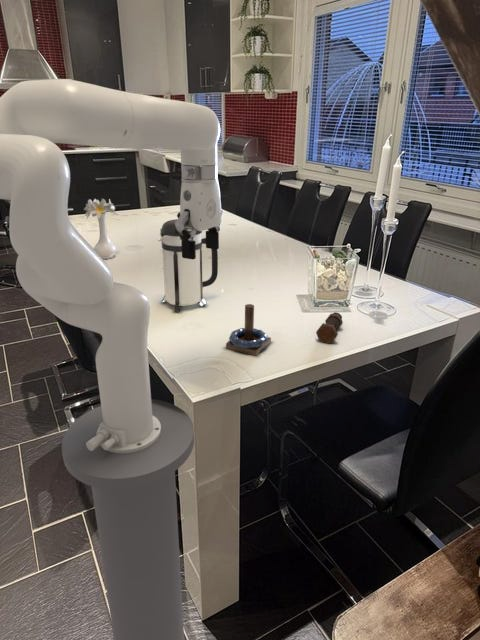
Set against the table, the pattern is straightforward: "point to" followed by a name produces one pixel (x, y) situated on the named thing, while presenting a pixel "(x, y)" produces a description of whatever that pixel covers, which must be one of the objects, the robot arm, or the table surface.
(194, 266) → the coffee press
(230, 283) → the table surface
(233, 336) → the ring
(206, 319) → the table surface
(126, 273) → the table surface
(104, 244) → the flower vase
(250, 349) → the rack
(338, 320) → the bolt
